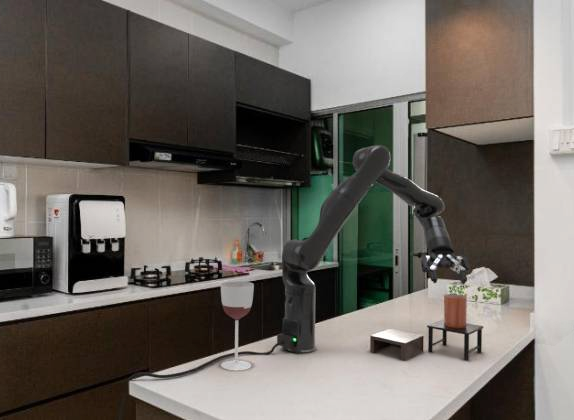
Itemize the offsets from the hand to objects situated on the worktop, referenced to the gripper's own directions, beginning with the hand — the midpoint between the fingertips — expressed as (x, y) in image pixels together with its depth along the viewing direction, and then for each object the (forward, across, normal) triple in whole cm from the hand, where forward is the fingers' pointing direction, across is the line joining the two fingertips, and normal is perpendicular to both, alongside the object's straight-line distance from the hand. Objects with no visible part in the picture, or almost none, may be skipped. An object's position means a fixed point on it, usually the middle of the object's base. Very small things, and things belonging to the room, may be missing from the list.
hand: (449, 282), depth 148 cm
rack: (+18, 0, +11) cm, 21 cm away
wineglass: (+33, -64, -4) cm, 72 cm away
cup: (+12, 0, +5) cm, 13 cm away
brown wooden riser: (+20, -18, +9) cm, 28 cm away
